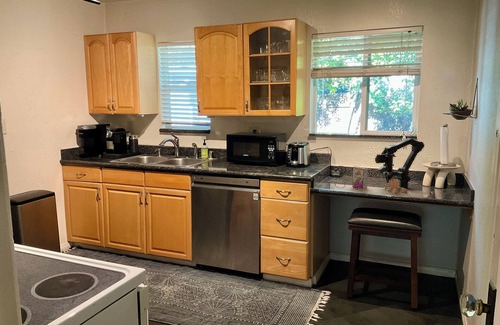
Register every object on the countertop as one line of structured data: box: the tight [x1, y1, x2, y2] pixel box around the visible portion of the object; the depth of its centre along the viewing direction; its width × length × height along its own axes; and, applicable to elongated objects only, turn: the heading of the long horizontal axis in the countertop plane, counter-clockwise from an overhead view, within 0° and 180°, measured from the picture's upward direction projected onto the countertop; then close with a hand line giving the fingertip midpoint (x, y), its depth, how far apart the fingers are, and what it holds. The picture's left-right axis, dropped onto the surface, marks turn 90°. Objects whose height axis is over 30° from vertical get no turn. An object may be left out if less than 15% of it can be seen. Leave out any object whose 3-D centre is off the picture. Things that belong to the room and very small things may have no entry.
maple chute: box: [384, 185, 409, 195], centre depth 296 cm, size 16×8×4 cm, turn 14°
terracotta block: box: [388, 179, 400, 190], centre depth 299 cm, size 5×5×8 cm
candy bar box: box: [352, 166, 369, 190], centre depth 311 cm, size 11×5×16 cm, turn 31°
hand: (387, 183), depth 306 cm, fingers closed
